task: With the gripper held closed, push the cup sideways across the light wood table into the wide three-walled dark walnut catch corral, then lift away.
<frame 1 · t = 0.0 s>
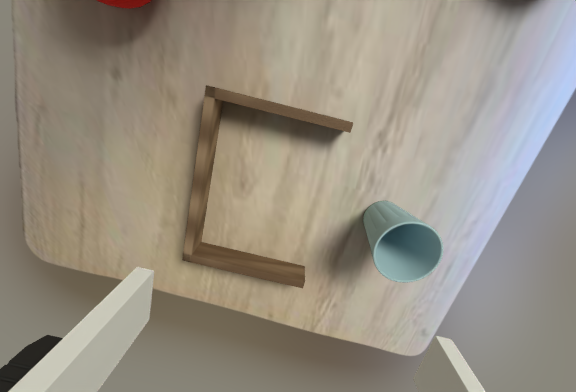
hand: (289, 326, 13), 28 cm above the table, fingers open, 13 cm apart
corral: (203, 174, 40), on the table
cup: (381, 217, 41), on the table
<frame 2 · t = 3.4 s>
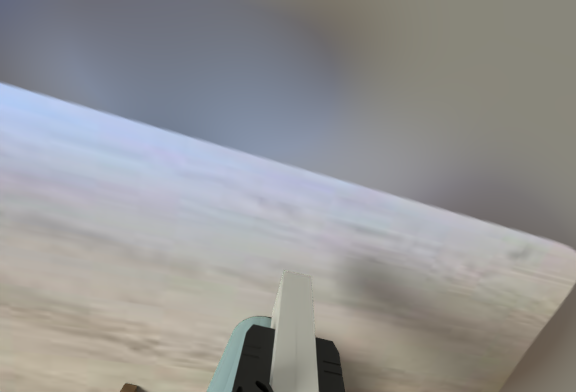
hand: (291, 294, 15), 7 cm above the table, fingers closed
cup: (261, 338, 25), on the table
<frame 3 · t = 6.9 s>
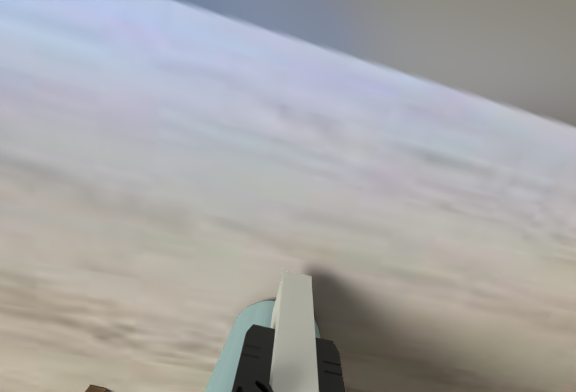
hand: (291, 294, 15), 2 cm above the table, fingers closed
cup: (276, 329, 18), on the table, touching gripper
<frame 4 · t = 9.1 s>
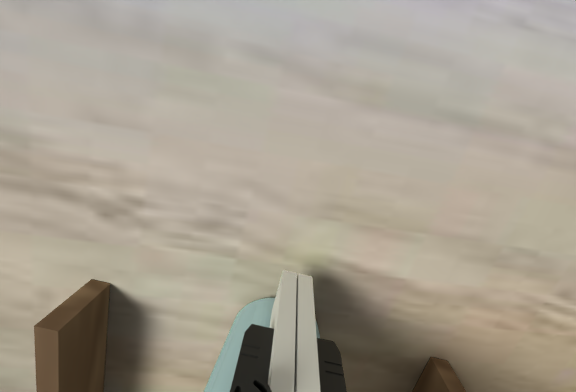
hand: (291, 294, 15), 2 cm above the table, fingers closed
cup: (276, 326, 18), on the table, touching gripper
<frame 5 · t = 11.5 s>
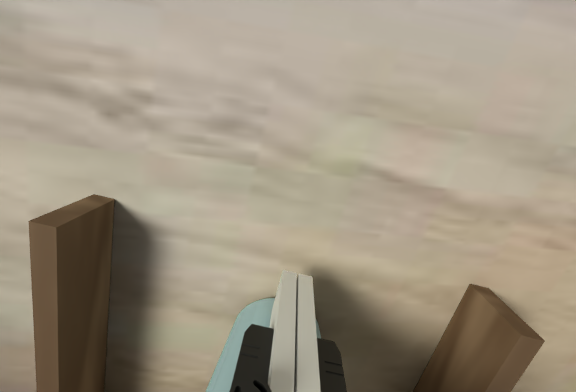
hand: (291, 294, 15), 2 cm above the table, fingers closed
cup: (277, 326, 18), on the table, touching gripper
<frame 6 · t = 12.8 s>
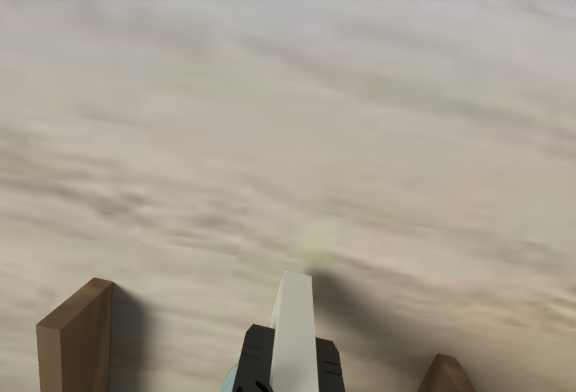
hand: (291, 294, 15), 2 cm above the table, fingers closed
cup: (262, 384, 20), on the table
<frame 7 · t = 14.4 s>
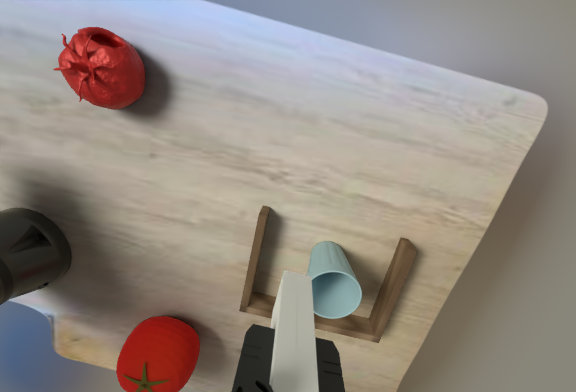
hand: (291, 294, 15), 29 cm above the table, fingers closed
pomegranate: (122, 73, 40), on the table
corral: (308, 310, 50), on the table
cup: (326, 254, 46), on the table
tomato: (175, 330, 54), on the table
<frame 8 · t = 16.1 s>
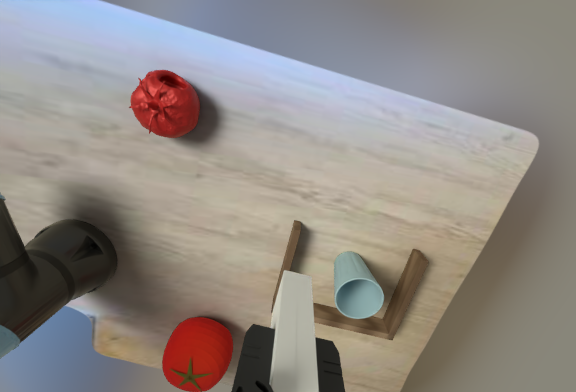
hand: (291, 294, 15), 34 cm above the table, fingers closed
pomegranate: (177, 105, 46), on the table
corral: (330, 311, 56), on the table
cup: (348, 263, 53), on the table
tomato: (208, 330, 60), on the table
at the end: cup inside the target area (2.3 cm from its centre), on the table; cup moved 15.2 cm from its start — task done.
